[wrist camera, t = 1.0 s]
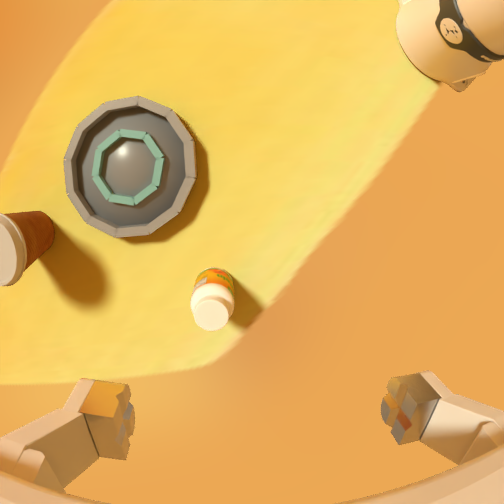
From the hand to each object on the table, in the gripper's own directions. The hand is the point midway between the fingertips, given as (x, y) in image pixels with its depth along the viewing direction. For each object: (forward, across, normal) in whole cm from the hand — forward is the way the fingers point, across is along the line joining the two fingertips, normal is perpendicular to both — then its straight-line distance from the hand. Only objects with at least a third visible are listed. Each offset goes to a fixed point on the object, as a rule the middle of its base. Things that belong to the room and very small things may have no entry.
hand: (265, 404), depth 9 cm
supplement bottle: (+36, +2, +9) cm, 37 cm away
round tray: (+35, +14, -7) cm, 39 cm away
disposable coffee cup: (+36, +29, +2) cm, 47 cm away
